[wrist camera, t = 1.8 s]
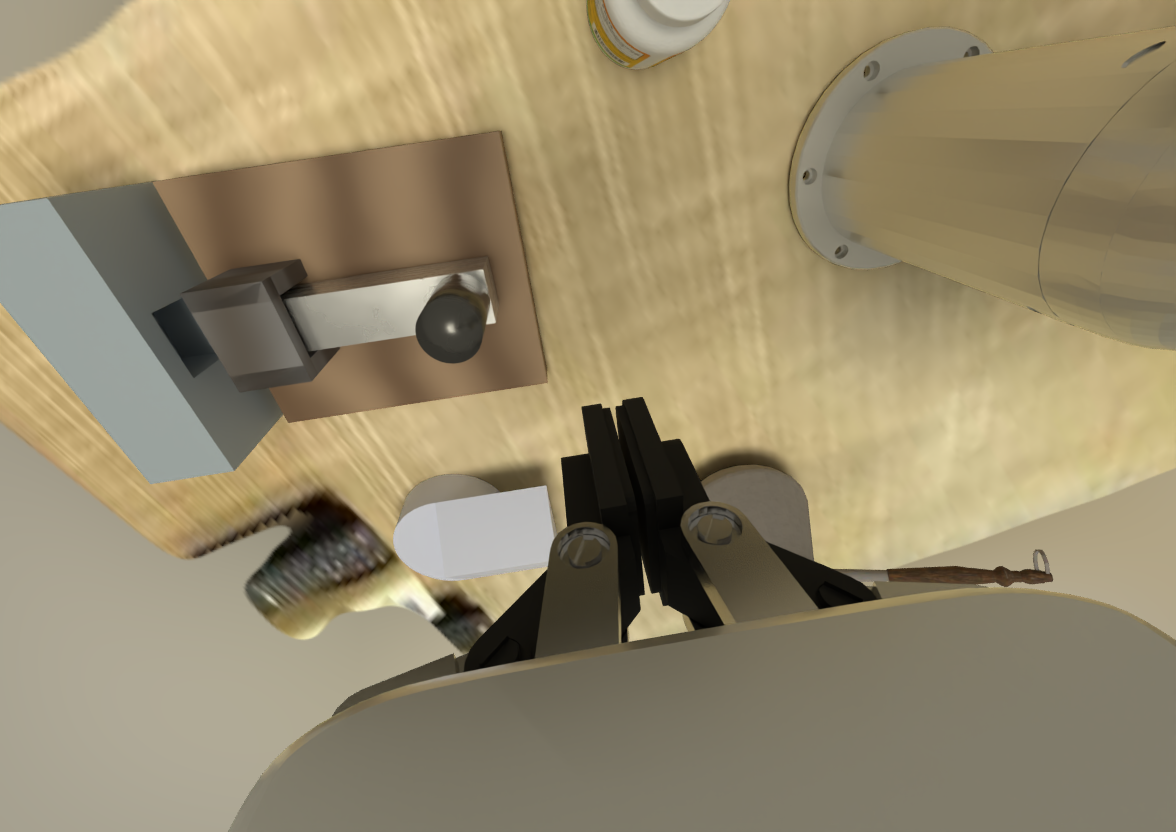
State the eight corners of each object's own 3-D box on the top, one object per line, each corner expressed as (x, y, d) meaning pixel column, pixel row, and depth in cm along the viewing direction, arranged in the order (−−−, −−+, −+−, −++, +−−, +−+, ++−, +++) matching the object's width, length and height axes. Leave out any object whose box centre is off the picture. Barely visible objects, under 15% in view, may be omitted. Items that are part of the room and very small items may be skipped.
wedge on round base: (545, 458, 38) (387, 483, 38) (547, 516, 33) (362, 545, 33) (561, 535, 43) (422, 557, 43) (565, 597, 38) (405, 623, 37)
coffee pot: (687, 557, 47) (744, 719, 34) (651, 477, 41) (704, 638, 28) (903, 482, 44) (1052, 627, 31) (898, 384, 38) (1081, 515, 25)
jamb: (159, 180, 26) (47, 198, 20) (286, 410, 34) (234, 470, 28) (67, 194, 26) (-73, 215, 20) (217, 420, 34) (150, 484, 28)
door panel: (501, 130, 26) (492, 133, 21) (546, 369, 34) (549, 417, 29) (177, 178, 26) (80, 193, 20) (300, 407, 34) (255, 463, 28)
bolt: (487, 255, 27) (473, 297, 21) (499, 305, 29) (489, 358, 22) (282, 286, 27) (203, 338, 21) (305, 334, 29) (238, 396, 22)
